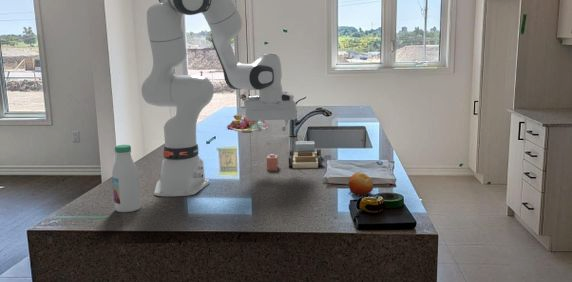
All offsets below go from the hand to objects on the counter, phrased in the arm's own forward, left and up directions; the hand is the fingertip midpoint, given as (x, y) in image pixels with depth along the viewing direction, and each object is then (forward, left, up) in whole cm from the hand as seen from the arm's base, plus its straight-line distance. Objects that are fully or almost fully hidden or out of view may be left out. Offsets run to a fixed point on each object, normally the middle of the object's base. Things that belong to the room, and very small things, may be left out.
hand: (272, 131), depth 201 cm
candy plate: (+96, +20, -16) cm, 99 cm away
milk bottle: (-47, +42, -15) cm, 65 cm away
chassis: (+10, -13, -15) cm, 22 cm away
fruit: (-35, -31, -15) cm, 49 cm away
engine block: (0, 0, -15) cm, 15 cm away
